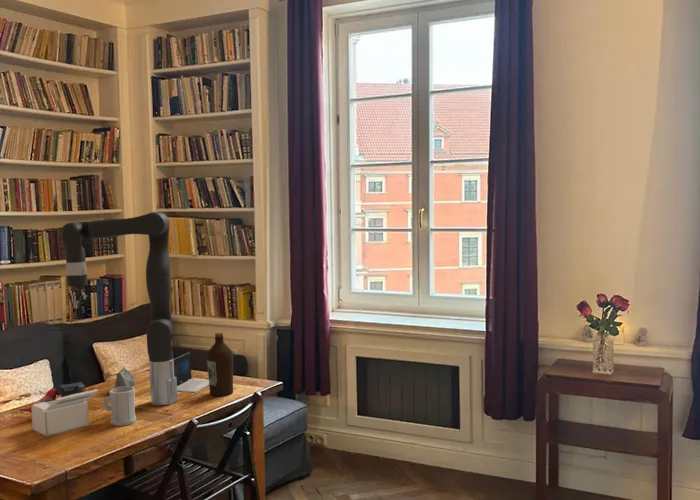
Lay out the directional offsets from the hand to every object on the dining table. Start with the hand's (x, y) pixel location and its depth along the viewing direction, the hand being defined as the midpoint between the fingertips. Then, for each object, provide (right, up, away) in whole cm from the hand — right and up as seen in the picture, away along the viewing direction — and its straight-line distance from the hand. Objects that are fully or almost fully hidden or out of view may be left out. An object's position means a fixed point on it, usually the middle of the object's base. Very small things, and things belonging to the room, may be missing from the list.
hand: (79, 317), depth 261 cm
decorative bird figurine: (-9, -37, -14) cm, 40 cm away
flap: (+7, -28, -28) cm, 40 cm away
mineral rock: (+11, -34, +24) cm, 42 cm away
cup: (+24, -36, -20) cm, 48 cm away
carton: (+3, -37, -24) cm, 44 cm away
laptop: (+39, -33, +26) cm, 57 cm away
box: (0, -36, -6) cm, 36 cm away
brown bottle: (+53, -33, +14) cm, 64 cm away
